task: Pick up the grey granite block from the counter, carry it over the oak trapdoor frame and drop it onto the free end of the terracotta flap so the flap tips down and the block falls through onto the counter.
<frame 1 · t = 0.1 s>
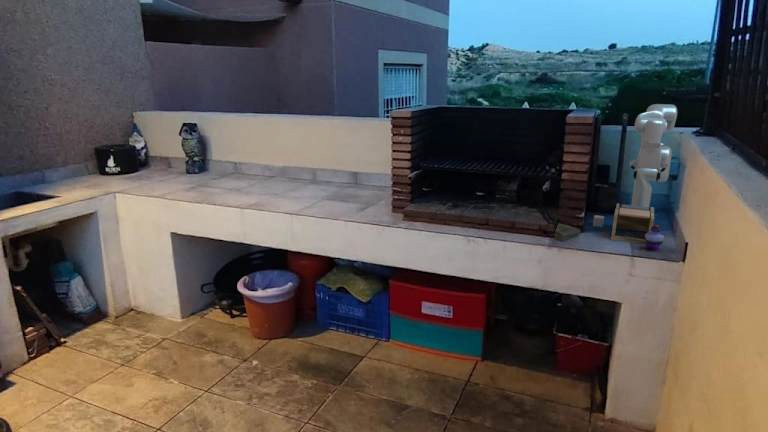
hand: (646, 179, 249), 31 cm above the table, tool pointing down, fingers open, 9 cm apart
trapdoor: (634, 213, 260), point 12 cm above the table, hinge at 0.0°
potion bottle: (652, 249, 244), on the table
frame: (631, 233, 266), on the table
stone: (597, 225, 280), on the table
marble piece: (560, 235, 264), on the table
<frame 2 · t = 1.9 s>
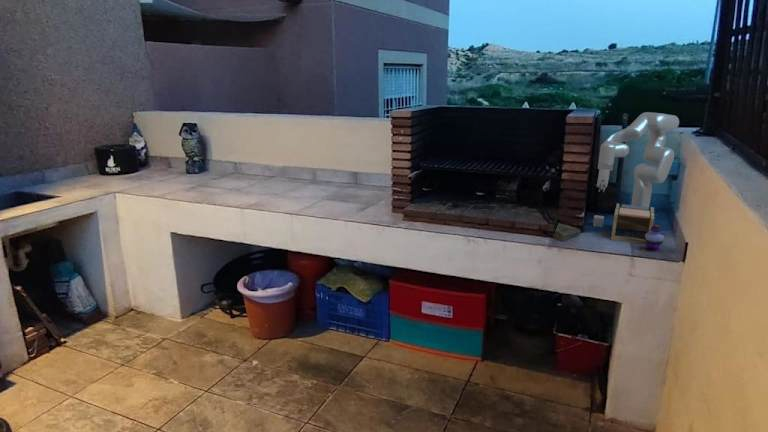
hand: (601, 197, 275), 16 cm above the table, tool pointing down, fingers open, 9 cm apart
nothing on the table moved.
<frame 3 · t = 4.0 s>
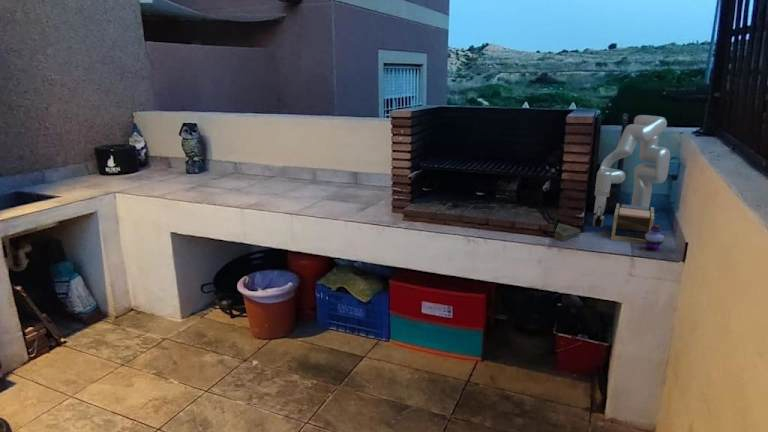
hand: (598, 223, 280), 1 cm above the table, tool pointing down, fingers closed on stone, 5 cm apart
stone: (597, 225, 280), on the table, touching gripper
everything else where it was.
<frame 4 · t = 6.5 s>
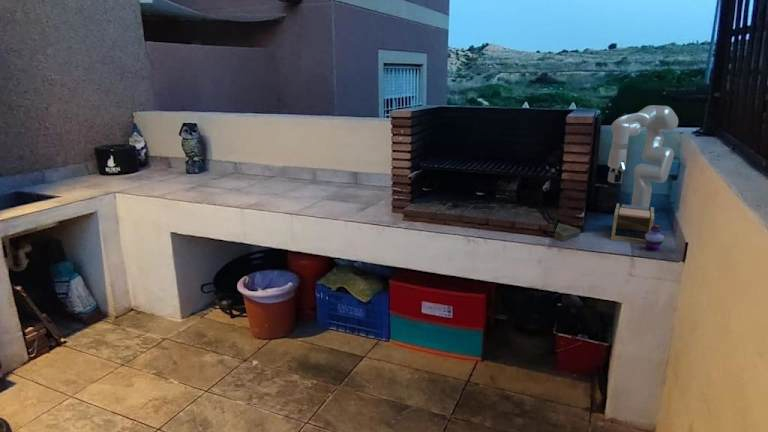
hand: (614, 180, 265), 27 cm above the table, tool pointing down, fingers closed on stone, 5 cm apart
stone: (614, 181, 265), point 27 cm above the table, touching gripper
everything else where it was.
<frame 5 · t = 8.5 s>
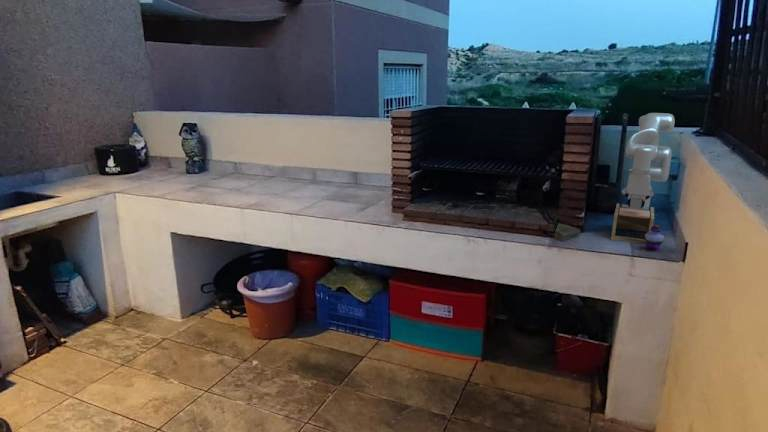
hand: (635, 206, 254), 17 cm above the table, tool pointing down, fingers closed on stone, 5 cm apart
stone: (635, 208, 254), point 16 cm above the table, touching gripper
everything else where it was.
when the fingers open (17 cm above the table, at t = 9.2 s): stone drops 11 cm and tips over, point 5 cm above the table.
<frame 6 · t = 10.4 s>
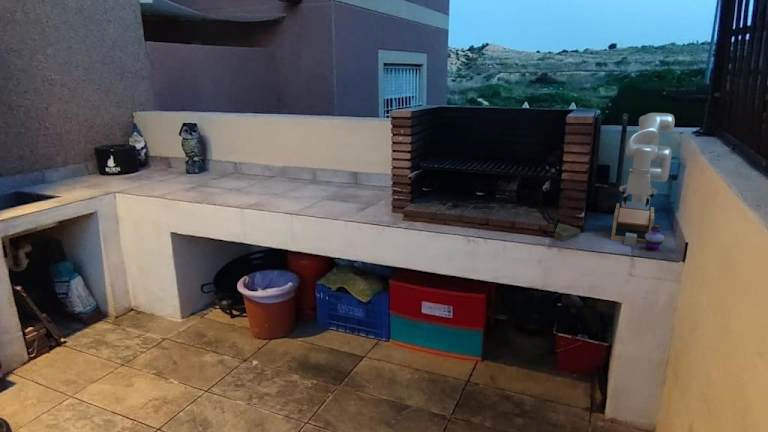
hand: (635, 204, 253), 18 cm above the table, tool pointing down, fingers open, 9 cm apart
trapdoor: (633, 214, 261), point 11 cm above the table, hinge at -20.5°
stone: (631, 234, 249), point 5 cm above the table, tilted 180°
everything else where it was.
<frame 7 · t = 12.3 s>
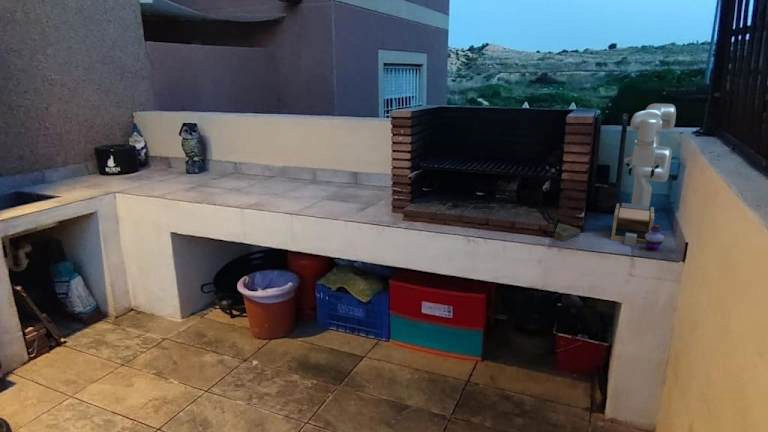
hand: (640, 176, 256), 31 cm above the table, tool pointing down, fingers open, 9 cm apart
trapdoor: (634, 214, 260), point 12 cm above the table, hinge at -8.3°
everything else where it was.
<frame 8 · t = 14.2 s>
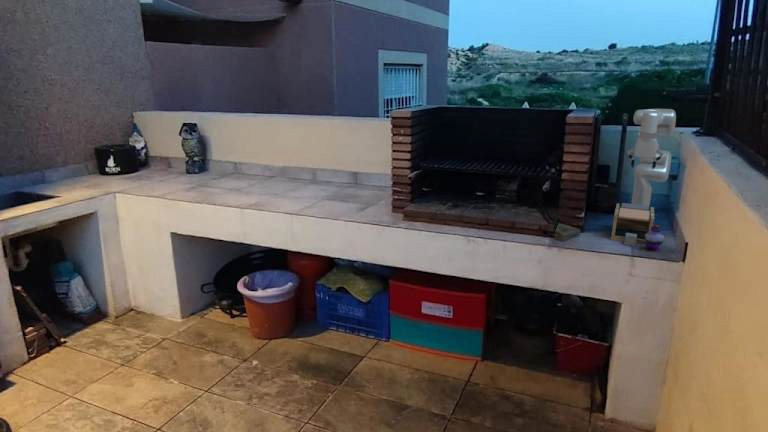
hand: (642, 168, 267), 33 cm above the table, tool pointing down, fingers open, 9 cm apart
trapdoor: (634, 214, 260), point 12 cm above the table, hinge at -7.5°
everything else where it was.
at the end: stone point 4.9 cm above the table; stone inside the target area on the frame (7.4 cm from its centre), point 4.9 cm above the frame's base; the gripper is holding nothing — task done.
